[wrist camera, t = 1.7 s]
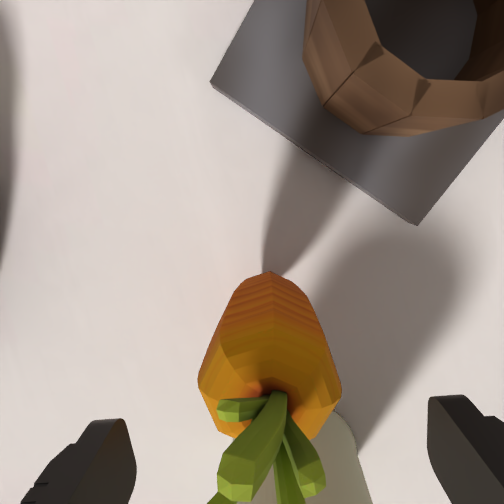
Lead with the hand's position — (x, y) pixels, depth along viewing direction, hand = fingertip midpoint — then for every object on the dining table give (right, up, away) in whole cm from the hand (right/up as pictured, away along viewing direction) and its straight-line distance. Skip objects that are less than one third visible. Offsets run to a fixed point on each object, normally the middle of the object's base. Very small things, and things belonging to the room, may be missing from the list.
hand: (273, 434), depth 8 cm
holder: (+7, +16, +9) cm, 20 cm away
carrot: (0, +3, +13) cm, 13 cm away
